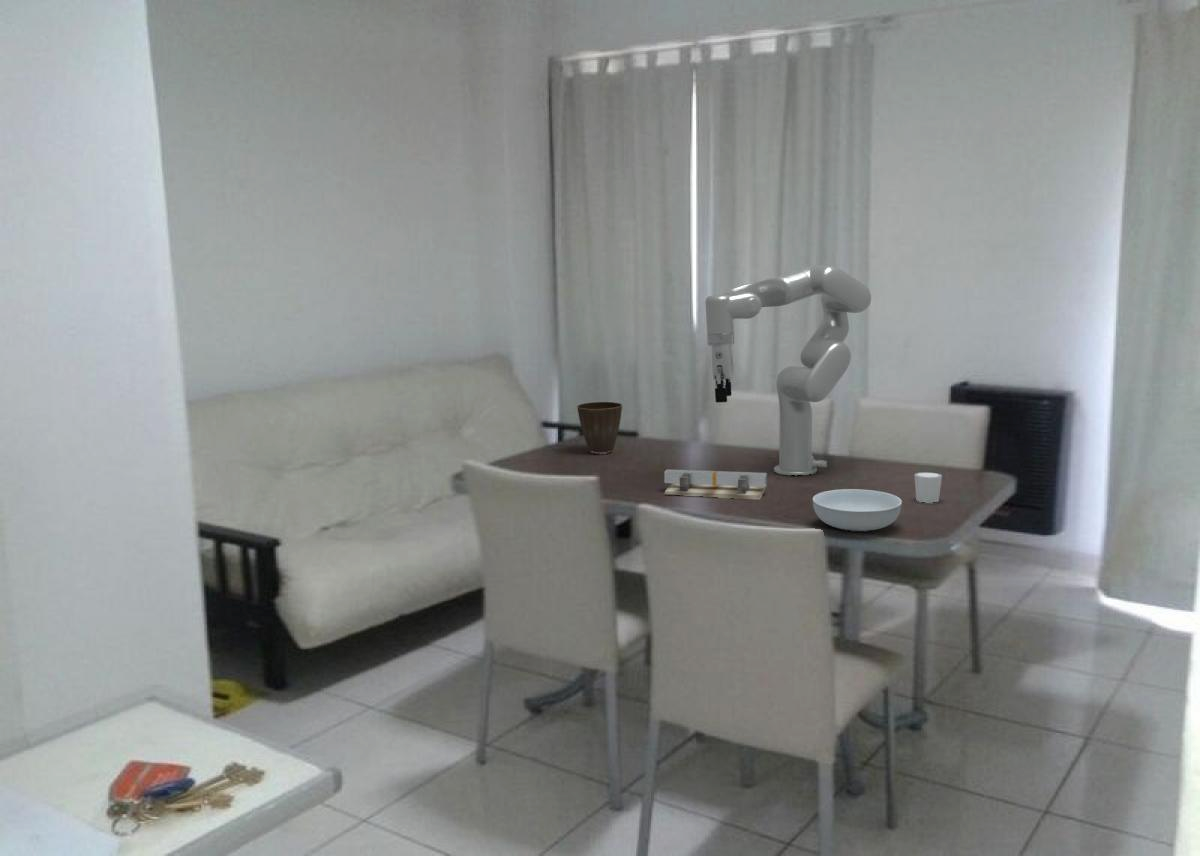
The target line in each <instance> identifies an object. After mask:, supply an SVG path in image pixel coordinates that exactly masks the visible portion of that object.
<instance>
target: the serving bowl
mask: <svg viewBox="0 0 1200 856" xmlns="http://www.w3.org/2000/svg"><path fill="white" fill-rule="evenodd" d="M902 504H903V501H902V499H901V498H900V497H898V496H897V495H895V494H892V493H889V492H884V491H880V490H870V489H860V488H859V489H858V488H849V489H848V488H842V489H832V490H827V491H825V490H824V491H821V492H819V493H816V494H815V495H813V497H812V506H813V510H814V513H815V514H816V516H817V517H818V518H819V519H820V520H821V521H822V522H824V523H825V524H826V525H829V526H831V527H832V528H836V529H840V530H843V529H844V530H843V531H847V530H851V531H850V532H855V531H864V532H869V530H871V531H875V530H880V529H883V528H886V527H888V526H890V525H892V524H893V523H894V522H895V521H896V520H897V518H898V517H899V515H900V513H901V510H902Z"/></svg>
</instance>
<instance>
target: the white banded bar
mask: <svg viewBox="0 0 1200 856" xmlns="http://www.w3.org/2000/svg"><path fill="white" fill-rule="evenodd" d="M682 475H683V476H689V484H701V485H727V486H738V479H739V478H747V486H752V487H765V488H766V487H767V485H768V473H767V472H754V471H753V472H752V471H721V470H719V471H718V470H697V469H695V470H694V469H665V471H664V484H672V483H676V484H680V477H681V476H682Z"/></svg>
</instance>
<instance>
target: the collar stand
mask: <svg viewBox="0 0 1200 856" xmlns="http://www.w3.org/2000/svg"><path fill="white" fill-rule="evenodd" d="M765 491H766V487H752V486H747V478H739V479H738V486H727V485H701V484H689V476H683V475H682V476H681V477H680V484H676V483H670V485H669V486H668V487H667V488H666V490H665V491H664V495H665V494H676V495H690V496H704V497H703V498H707V497H718V498H717V499H730V498H734V499H735V500H737V499H738V500H756V501H757V500H759V501H760V500H761V498H762V497H763V495H764V493H765ZM734 499H733V500H734Z"/></svg>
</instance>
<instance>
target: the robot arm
mask: <svg viewBox="0 0 1200 856" xmlns="http://www.w3.org/2000/svg"><path fill="white" fill-rule="evenodd" d="M871 294H872V293H871V291H870V289H869V288H868V287H867V285H865V284H864V283H863V282H861V281H859V279H857V278H855V277H853V276H852V275H851V274H849V273H847V272H845V271H844V270H842V269H841V268H839V267H837V266H836V265H829V264H824V265H823V264H812V265H808V266H804V267H802V268H799V269H796V270H793V271H791V272H788V273H785V274H782V275H778V276H775V277H771V278H767V279H766V278H765V279H763V280H760V281H755V282H752V283H747V284H743V285H740V286H738V287H735V288H732V289H728V290H727V291H725V292H723V293H721V294H713V295H709V296H707V297H706V298H705V301H704V302H705V318H706V319H705V321H706V337H707V339H706V340H707V341H706V342H707V346H709V347H711V365H712V377H713V380H714V381H715V383H714V385H715V387H714V395H715V396H714V398H715V403H727V402H728V397H732V381H731V380H732V378H733V377H734V375H735V370H734V358H733V357H734V356H733V348H732V345H735V329H734V326H735V325H734V324H735V323H734V320H735V319H736V320H737V319H741V320H742V319H743V320H744V319H745V320H748V319H752V318H755V317H756V316H758V314H760V312H761V311H762V310H761V309H762V308H771V307H772V308H775V307H782V306H787V305H790V304H792V303H795V302H797V301H798V302H799V301H800V300H803V299H807V298H811V297H812V296H816V295H821V297H820V299H821V307H822V315H823V316H822V321H821V323H820V324H819V326H818V328H817V329H816V330H815V332H814V333H813V335H812V336H811V337H810V338H809V340H808V341H807V343H806V344H804V346H803V348H802V351H801V352H800V355H799V357H800V358H799V359H800V363H801V364H802V365H803V366H797V365H796V366H795V365H792V366H791V365H790V366H787V367H784V368H783V369H782V370H780V372H779V373H778V375H777V376H776V383H775V384H776V392H777V398H778V407H779V439H778V440H779V443H778V444H779V445H778V446H779V447H778V448H779V450H778V451H779V454H778V455H779V457H778V459H779V462H778V463H779V464H777V465H774V467H773V472H774V473H775V474H779V475H783V476H791V475H795V476H796V477H797V475H803V476H810V475H809V474H811V475H813V474H816V473H817V470H818V468H827V467H828V461H827V460H824V459H815V458H814V455H812V454H813V453H812V451H813V450H812V448H813V447H812V445H813V444H812V443H813V409H812V405H811V403H817V402H818V403H819V402H821V401H823V400H825V399H826V398H827V397H828V396H829V394H830V393H831V392H832V390H834V387H836V385H837V384H838V383H839V381H840V380H841V378H842V377H843V375H844V374H845V373H846V371H847V370H848V368H849V366H850V363H851V358H852V355H851V350H850V347H849V346H848V344H846V343H845V342H844V341H845V340H846V338H847V336H848V334H849V331H850V330H849V329H850V323H849V317H848V313H850V314H852V313H853V314H857V313H862V312H865V311H866V309H868V308H869V307H870V305H871V301H872V295H871Z"/></svg>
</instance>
